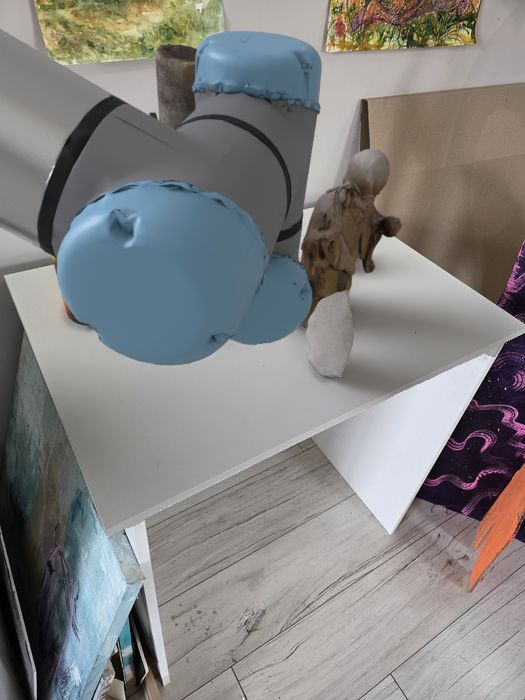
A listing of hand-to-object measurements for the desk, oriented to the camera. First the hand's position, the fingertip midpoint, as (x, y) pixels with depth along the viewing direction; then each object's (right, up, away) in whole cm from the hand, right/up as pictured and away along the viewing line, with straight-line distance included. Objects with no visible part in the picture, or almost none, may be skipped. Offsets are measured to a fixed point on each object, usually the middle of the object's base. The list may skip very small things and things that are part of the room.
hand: (185, 123), depth 61 cm
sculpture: (+21, -22, +26) cm, 40 cm away
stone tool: (+19, -32, +15) cm, 40 cm away
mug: (-20, -20, +24) cm, 37 cm away
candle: (0, -12, +4) cm, 12 cm away
